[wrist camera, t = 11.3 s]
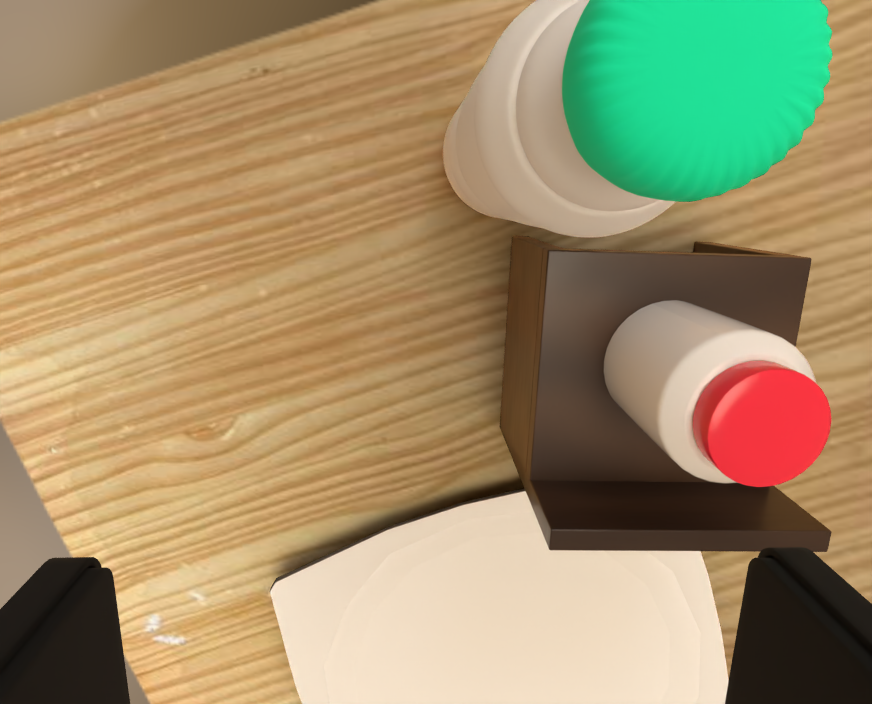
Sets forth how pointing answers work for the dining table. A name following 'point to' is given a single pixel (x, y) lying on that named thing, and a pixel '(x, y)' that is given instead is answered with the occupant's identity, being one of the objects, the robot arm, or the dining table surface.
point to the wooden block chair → (607, 423)
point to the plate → (499, 617)
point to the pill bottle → (718, 394)
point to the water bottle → (634, 108)
